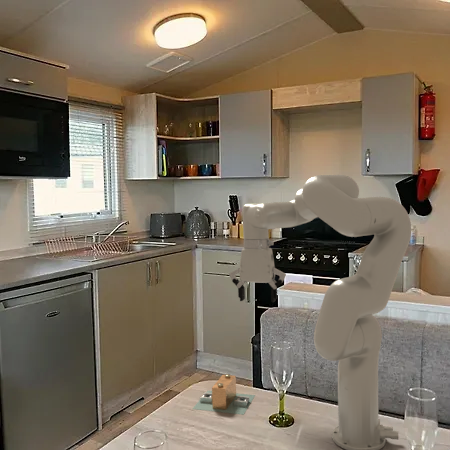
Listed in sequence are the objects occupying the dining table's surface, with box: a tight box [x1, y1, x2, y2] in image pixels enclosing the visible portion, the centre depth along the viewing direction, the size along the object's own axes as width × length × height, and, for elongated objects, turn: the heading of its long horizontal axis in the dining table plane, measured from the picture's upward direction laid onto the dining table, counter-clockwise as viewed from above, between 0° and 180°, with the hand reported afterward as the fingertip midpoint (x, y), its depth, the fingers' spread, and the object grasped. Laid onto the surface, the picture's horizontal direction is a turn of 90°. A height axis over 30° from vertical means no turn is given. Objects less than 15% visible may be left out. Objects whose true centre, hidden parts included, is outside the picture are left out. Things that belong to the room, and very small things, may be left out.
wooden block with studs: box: [211, 373, 237, 410], centre depth 144 cm, size 4×10×7 cm, turn 162°
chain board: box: [192, 390, 256, 416], centre depth 144 cm, size 15×13×1 cm
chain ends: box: [199, 392, 250, 407], centre depth 144 cm, size 14×4×1 cm, turn 72°
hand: (257, 300), depth 150 cm, fingers open, 9 cm apart
